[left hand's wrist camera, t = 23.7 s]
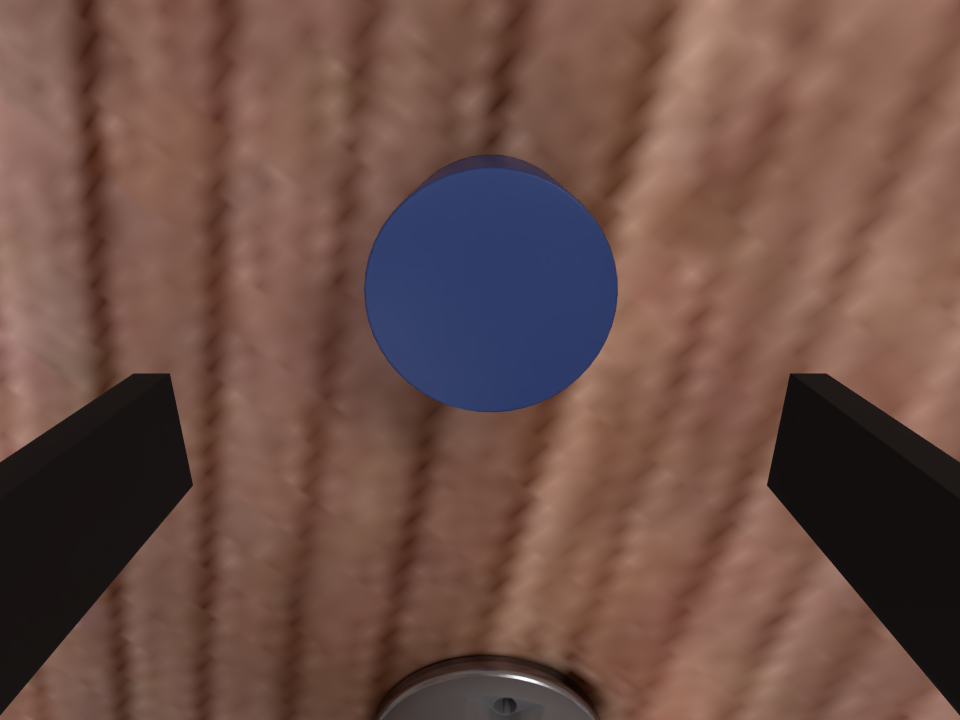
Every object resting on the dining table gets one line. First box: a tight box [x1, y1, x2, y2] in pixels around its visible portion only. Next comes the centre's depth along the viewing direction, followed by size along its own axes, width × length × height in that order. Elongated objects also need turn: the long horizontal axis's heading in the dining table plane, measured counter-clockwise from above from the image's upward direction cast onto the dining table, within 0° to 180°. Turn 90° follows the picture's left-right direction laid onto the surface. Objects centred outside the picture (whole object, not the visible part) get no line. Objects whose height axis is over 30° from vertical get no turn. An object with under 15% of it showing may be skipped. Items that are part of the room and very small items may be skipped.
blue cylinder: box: [364, 155, 618, 412], centre depth 23 cm, size 8×8×8 cm
